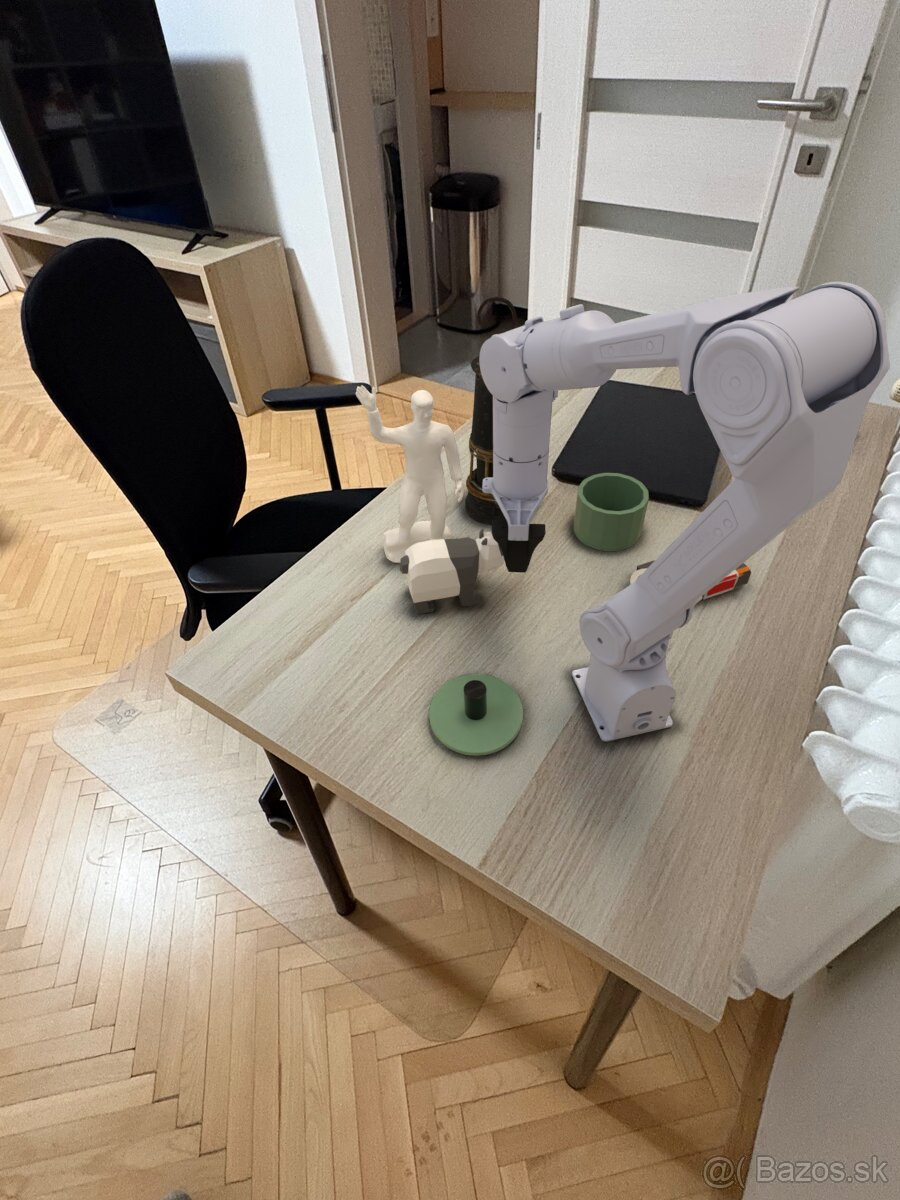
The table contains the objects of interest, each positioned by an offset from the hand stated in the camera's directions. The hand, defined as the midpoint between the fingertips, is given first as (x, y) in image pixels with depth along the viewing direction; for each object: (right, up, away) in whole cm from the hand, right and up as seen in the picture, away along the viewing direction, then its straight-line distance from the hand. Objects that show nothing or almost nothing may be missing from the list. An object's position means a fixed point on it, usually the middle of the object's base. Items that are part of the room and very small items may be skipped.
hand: (517, 548), depth 73 cm
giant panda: (-7, -6, +8) cm, 12 cm away
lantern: (-1, +8, +21) cm, 23 cm away
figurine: (-12, +1, +15) cm, 19 cm away
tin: (+15, +4, +16) cm, 22 cm away
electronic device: (+22, -4, +8) cm, 24 cm away
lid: (-5, -19, -5) cm, 20 cm away
